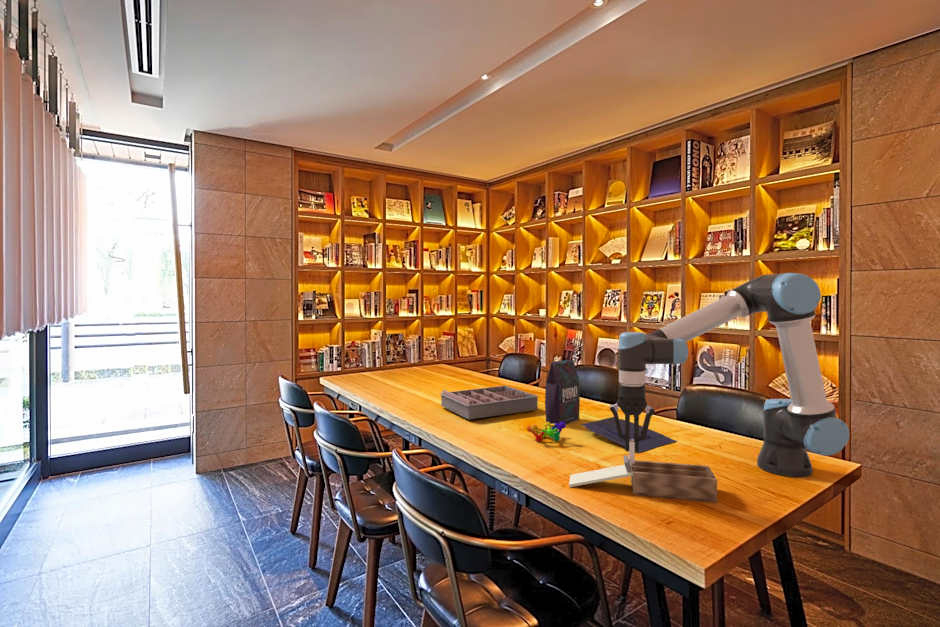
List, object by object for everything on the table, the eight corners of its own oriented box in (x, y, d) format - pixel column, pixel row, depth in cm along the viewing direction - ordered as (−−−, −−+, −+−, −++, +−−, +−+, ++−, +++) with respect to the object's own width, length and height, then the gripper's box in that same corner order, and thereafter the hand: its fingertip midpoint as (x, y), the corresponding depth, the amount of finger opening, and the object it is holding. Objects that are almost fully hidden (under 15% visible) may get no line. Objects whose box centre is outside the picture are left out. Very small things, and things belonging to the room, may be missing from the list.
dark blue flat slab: (615, 422, 212) (616, 414, 211) (676, 447, 187) (677, 438, 187) (576, 431, 198) (577, 422, 198) (637, 460, 174) (638, 450, 173)
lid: (631, 465, 147) (628, 453, 147) (633, 475, 139) (629, 462, 139) (571, 477, 152) (567, 465, 152) (569, 487, 144) (566, 475, 144)
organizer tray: (539, 412, 236) (539, 392, 236) (467, 423, 218) (467, 401, 217) (505, 399, 264) (505, 382, 264) (439, 408, 246) (439, 389, 246)
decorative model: (525, 425, 197) (560, 415, 197) (531, 447, 195) (566, 437, 195) (527, 426, 184) (564, 415, 184) (533, 449, 183) (571, 438, 183)
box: (708, 487, 143) (708, 465, 143) (716, 502, 132) (717, 479, 132) (630, 480, 149) (631, 459, 149) (633, 494, 138) (633, 472, 138)
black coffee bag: (580, 420, 220) (580, 359, 219) (559, 427, 209) (558, 363, 208) (565, 416, 226) (565, 358, 225) (544, 423, 215) (543, 361, 214)
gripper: (653, 382, 144) (653, 459, 145) (609, 381, 148) (608, 456, 149) (656, 387, 137) (656, 468, 138) (609, 385, 140) (609, 464, 141)
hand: (631, 462), depth 143 cm, fingers closed
